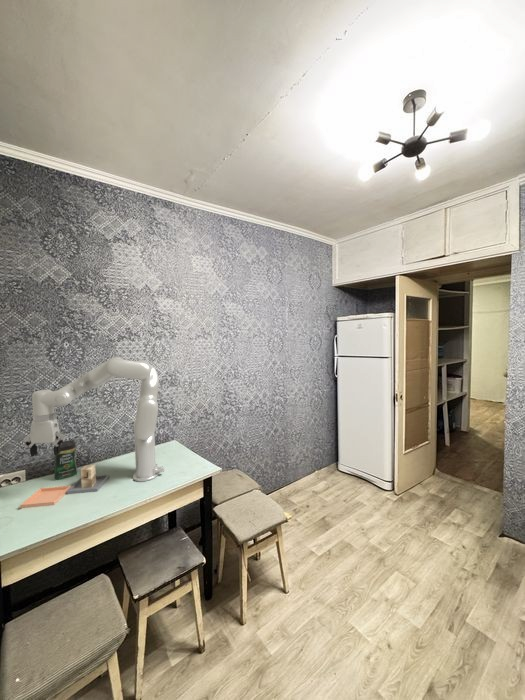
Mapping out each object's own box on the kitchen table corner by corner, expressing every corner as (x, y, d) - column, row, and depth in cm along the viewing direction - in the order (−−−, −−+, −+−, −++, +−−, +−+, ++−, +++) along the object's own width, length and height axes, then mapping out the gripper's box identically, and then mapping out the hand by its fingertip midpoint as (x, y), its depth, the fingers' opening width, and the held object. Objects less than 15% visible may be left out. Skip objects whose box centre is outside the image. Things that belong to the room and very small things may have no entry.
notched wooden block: (96, 482, 137) (95, 464, 136) (91, 487, 132) (90, 469, 132) (86, 483, 136) (85, 465, 136) (81, 488, 132) (80, 470, 131)
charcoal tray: (109, 478, 142) (109, 474, 142) (97, 492, 129) (97, 488, 129) (81, 480, 140) (81, 476, 140) (66, 495, 127) (66, 491, 127)
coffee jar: (54, 482, 139) (52, 446, 138) (55, 476, 145) (53, 441, 144) (77, 476, 144) (75, 441, 143) (77, 470, 151) (75, 437, 150)
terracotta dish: (71, 489, 132) (70, 485, 132) (54, 506, 119) (54, 501, 119) (40, 492, 130) (40, 488, 130) (20, 509, 117) (20, 505, 117)
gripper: (69, 414, 129) (70, 450, 130) (29, 416, 127) (30, 452, 128) (59, 419, 122) (61, 457, 123) (16, 421, 120) (18, 459, 121)
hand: (45, 454), depth 125 cm, fingers open, 9 cm apart
